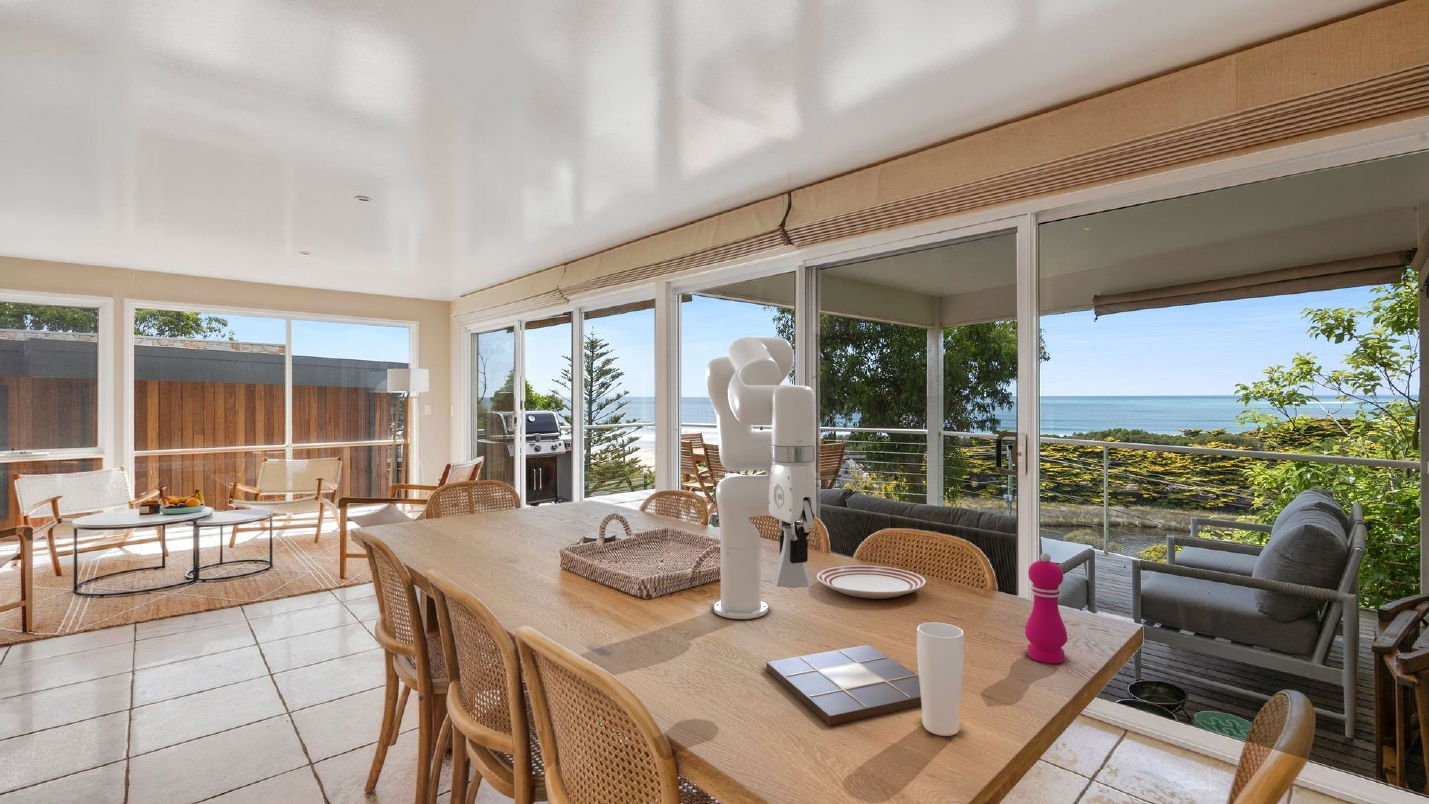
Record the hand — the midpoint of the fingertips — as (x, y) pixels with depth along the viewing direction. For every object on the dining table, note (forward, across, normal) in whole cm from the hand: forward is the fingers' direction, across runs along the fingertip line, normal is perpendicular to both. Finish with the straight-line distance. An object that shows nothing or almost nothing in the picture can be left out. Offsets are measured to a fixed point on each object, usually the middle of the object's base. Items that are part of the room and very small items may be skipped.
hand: (793, 558), depth 115 cm
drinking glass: (+22, +23, +13) cm, 34 cm away
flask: (+5, 0, 0) cm, 5 cm away
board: (+22, +5, +8) cm, 24 cm away
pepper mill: (+22, +8, +50) cm, 55 cm away
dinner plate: (+22, -42, +44) cm, 64 cm away
